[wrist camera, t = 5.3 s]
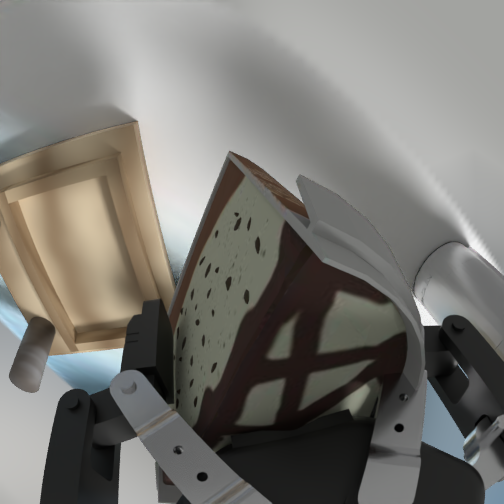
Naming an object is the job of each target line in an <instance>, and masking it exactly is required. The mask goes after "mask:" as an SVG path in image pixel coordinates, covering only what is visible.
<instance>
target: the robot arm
mask: <svg viewBox="0 0 504 504" xmlns="http://www.w3.org/2000/svg"><path fill="white" fill-rule="evenodd" d="M414 291H415V295H416V298H417V299H418V300H419V301H420V303H421V304H422V305H423V306H424V307H425V309H426V310H427V311H428V312H429V313H430V315H431V316H432V317H433V319H434V320H435V321H436V322H437V324H438V325H439V326H423V325H422V324H421V328H422V338H423V341H424V348H425V368H424V373H423V378H422V383H421V385H420V388H419V390H415V389H414V388H413V386H412V385H411V383H410V382H409V380H408V379H407V377H406V376H405V375H404V373H403V372H402V373H392V374H384V377H383V380H382V383H381V385H380V388H379V391H378V393H377V396H376V399H375V402H374V405H373V408H372V410H371V413H370V416H369V417H367V416H352V414H351V412H350V410H349V409H346V410H342V411H339V412H335V413H332V414H328V415H325V416H321V417H319V418H317V419H315V420H314V421H312V422H310V423H308V424H306V425H304V426H302V427H300V428H298V429H296V430H292V431H265V430H260V431H255V432H250V433H244V434H238V435H232V436H231V440H232V443H231V444H229V445H226V446H225V447H223V448H221V449H219V450H218V451H216V452H214V451H213V450H212V449H211V448H210V447H209V446H208V445H207V444H206V443H205V442H204V441H203V440H202V439H201V438H200V437H199V436H198V435H197V434H196V433H195V432H194V430H193V429H192V428H191V427H190V426H189V425H188V424H187V423H186V422H185V421H184V419H183V418H182V417H181V416H180V415H179V414H178V413H177V412H176V411H175V410H172V409H171V408H170V407H169V406H168V405H167V404H174V337H173V331H172V326H171V323H170V320H169V318H168V315H167V312H166V309H165V306H164V303H163V300H162V299H161V298H160V299H154V300H147V301H144V302H143V307H142V314H138V315H133V317H132V318H131V320H130V321H129V323H128V325H127V330H126V337H125V344H124V349H123V356H122V363H121V370H120V373H119V374H118V375H116V376H115V377H114V378H113V380H112V381H111V383H110V387H109V388H107V389H105V390H103V391H100V392H97V393H95V394H92V395H88V393H87V392H86V391H84V390H82V389H73V390H70V391H68V392H66V393H65V394H64V395H63V396H62V397H61V398H60V400H59V402H58V406H57V410H56V414H55V418H54V423H53V427H52V432H51V437H50V442H49V447H48V452H47V458H46V464H45V470H44V476H43V483H42V491H41V499H40V504H118V488H119V466H120V450H121V442H124V441H127V440H130V439H132V438H135V437H139V439H140V440H141V442H142V443H143V444H144V446H145V447H146V449H147V450H148V451H149V452H150V454H151V455H152V456H153V458H154V459H155V460H156V462H157V463H158V464H159V466H160V467H161V468H162V469H163V471H164V472H165V473H166V474H167V476H168V477H169V478H170V479H171V481H172V482H173V483H174V484H175V485H176V487H177V488H178V489H179V490H180V491H181V492H182V494H183V495H182V496H181V497H180V499H179V500H178V502H177V503H176V504H484V500H485V490H486V489H488V488H489V487H491V486H492V485H493V484H495V483H496V482H500V481H503V480H504V275H502V274H501V273H500V272H499V271H498V270H497V269H496V268H495V267H494V266H492V265H491V264H490V263H489V262H488V261H487V260H486V259H484V258H483V257H482V256H481V255H480V254H479V253H477V252H476V251H475V250H474V249H473V248H471V247H469V248H466V247H465V246H464V245H463V244H461V243H459V242H451V243H447V244H445V245H443V246H441V247H440V248H438V249H437V250H436V251H435V252H434V253H432V254H431V255H430V256H429V258H428V259H427V260H426V261H425V263H424V264H423V266H422V267H421V269H420V271H419V273H418V275H417V278H416V281H415V286H414ZM458 364H459V365H460V367H461V368H462V369H463V370H464V372H465V373H466V374H467V376H468V378H467V377H466V376H465V374H464V373H463V372H462V370H461V369H460V368H459V366H458ZM427 379H428V380H429V382H430V383H431V385H432V387H433V388H434V390H435V391H436V393H437V394H438V396H439V397H440V399H441V401H442V402H443V404H444V405H445V407H446V408H447V410H448V412H449V413H450V415H451V416H452V418H453V420H454V421H455V423H456V425H457V426H458V428H459V429H460V431H461V433H462V434H463V436H464V438H465V441H464V446H463V450H464V459H465V460H466V461H467V462H465V461H463V460H461V459H458V458H456V457H454V456H452V455H450V454H448V453H445V452H443V451H441V450H439V449H437V448H435V447H433V446H431V445H428V444H426V443H424V442H422V441H421V439H422V431H423V423H424V414H425V402H426V389H427ZM468 379H469V380H468Z"/></svg>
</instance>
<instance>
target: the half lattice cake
mask: <svg viewBox="0 0 504 504" xmlns="http://www.w3.org/2000/svg"><path fill="white" fill-rule="evenodd" d="M296 183H297V186H298V188H299V191H300V194H301V197H302V199H303V202H304V204H303V203H302V202H301V201H300V200H299V199H297V198H296V197H295V196H294V195H293V194H292V193H290V192H289V191H288V190H287V189H286V188H284V187H283V186H282V185H281V184H280V183H279V182H277V181H276V180H275V179H274V178H273V177H271V176H270V175H269V174H268V173H267V172H265V171H264V170H263V169H262V168H260V167H259V166H257V165H256V164H254V163H253V162H251V161H250V160H248V159H247V158H244V157H242V156H240V155H238V154H235V153H233V152H231V151H229V153H228V155H227V157H226V160H225V162H224V164H223V167H222V169H221V172H220V174H219V177H218V179H217V181H216V184H215V186H214V189H213V191H212V194H211V196H210V199H209V201H208V204H207V206H206V209H205V212H204V214H203V217H202V219H201V222H200V224H199V227H198V230H197V232H196V235H195V238H194V240H193V243H192V245H191V248H190V251H189V254H188V256H187V259H186V262H185V264H184V267H183V270H182V273H181V275H180V278H179V281H178V284H177V287H176V289H175V292H174V295H173V298H172V301H171V304H170V307H169V310H168V312H167V315H168V318H169V320H170V323H171V326H172V331H173V337H174V404H167V405H168V406H169V407H170V408H171V409H172V410H175V411H176V412H177V413H178V414H179V415H180V416H181V417H182V418H183V419H184V421H185V422H186V423H187V424H188V425H189V426H190V427H191V428H192V429H193V430H194V432H195V433H196V434H197V435H198V436H199V437H200V438H201V439H202V440H203V441H204V442H205V443H206V444H207V445H208V446H209V447H210V448H211V449H212V450H213V451H214V452H216V451H218V450H219V449H221V448H223V447H225V446H226V445H229V444H231V443H232V440H231V436H232V435H238V434H244V433H250V432H255V431H260V430H265V431H292V430H296V429H298V428H300V427H302V426H304V425H306V424H308V423H310V422H312V421H314V420H315V419H317V418H319V417H321V416H325V415H328V414H332V413H335V412H339V411H342V410H346V409H349V410H350V412H351V414H352V416H367V417H369V416H370V413H371V410H372V408H373V405H374V402H375V399H376V396H377V393H378V391H379V388H380V385H381V383H382V380H383V377H384V374H392V373H402V372H403V373H404V375H405V376H406V377H407V379H408V380H409V382H410V383H411V385H412V386H413V388H414V389H415V390H419V388H420V385H421V383H422V378H423V373H424V368H425V348H424V341H423V338H422V328H421V318H420V314H419V311H418V309H417V306H416V303H415V301H414V298H413V296H412V293H411V291H410V289H409V286H408V284H407V282H406V280H405V278H404V276H403V274H402V272H401V270H400V268H399V266H398V264H397V262H396V260H395V258H394V256H393V254H392V252H391V250H390V248H389V246H388V245H387V244H386V242H385V241H384V240H383V238H382V237H381V236H380V234H379V233H378V232H377V231H376V229H375V228H374V227H373V225H372V224H371V223H370V222H369V220H368V219H366V218H365V217H364V216H363V215H362V214H360V213H359V212H358V211H357V210H356V209H354V208H353V207H352V206H351V205H350V204H348V203H347V202H346V201H345V200H343V199H342V198H341V197H340V196H339V195H337V194H336V193H334V192H332V191H330V190H328V189H326V188H325V187H323V186H321V185H319V184H317V183H315V182H313V181H311V180H310V179H308V178H306V177H304V176H302V175H299V177H298V178H297V180H296ZM155 468H156V484H157V490H158V502H159V503H168V504H176V503H177V502H178V500H179V499H180V497H181V496H182V495H183V494H182V492H181V491H180V490H179V489H178V488H177V487H176V485H175V484H174V483H173V482H172V481H171V479H170V478H169V477H168V476H167V474H166V473H165V472H164V471H163V469H162V468H161V467H160V466H159V464H158V463H157V462H155Z"/></svg>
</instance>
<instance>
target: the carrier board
mask: <svg viewBox="0 0 504 504" xmlns="http://www.w3.org/2000/svg"><path fill="white" fill-rule="evenodd" d="M0 273H1V275H2V277H3V279H4V281H5V283H6V285H7V287H8V289H9V291H10V293H11V295H12V296H13V298H14V300H15V302H16V304H17V306H18V307H19V309H20V311H21V312H22V314H23V316H24V318H25V319H26V321H27V323H28V327H27V329H26V332H25V334H24V336H23V339H22V341H21V344H20V346H19V349H18V351H17V354H16V357H15V359H14V363H13V365H12V368H11V371H10V373H9V378H10V380H11V382H12V383H13V384H14V385H15V386H16V387H18V388H20V389H21V390H23V391H26V392H30V393H34V392H37V391H38V390H39V387H40V383H41V379H42V375H43V372H44V369H45V365H46V362H47V359H48V355H49V356H52V355H63V354H73V353H83V352H92V351H101V350H110V349H118V348H124V344H125V337H126V330H127V325H128V323H129V321H130V320H131V318H132V317H133V315H138V314H142V307H143V302H144V301H147V300H154V299H160V298H161V299H162V300H163V303H164V306H165V309H166V312H168V310H169V307H170V304H171V301H172V298H173V295H174V292H175V289H176V284H175V281H174V277H173V274H172V270H171V266H170V263H169V259H168V255H167V251H166V248H165V244H164V240H163V236H162V232H161V228H160V224H159V220H158V216H157V211H156V207H155V203H154V199H153V194H152V190H151V185H150V181H149V176H148V171H147V167H146V162H145V157H144V152H143V147H142V142H141V137H140V131H139V126H138V121H135V122H131V123H126V124H122V125H118V126H114V127H110V128H106V129H103V130H99V131H95V132H92V133H88V134H85V135H81V136H78V137H74V138H71V139H68V140H65V141H62V142H58V143H55V144H52V145H49V146H46V147H43V148H40V149H38V150H35V151H32V152H29V153H26V154H24V155H21V156H18V157H16V158H13V159H11V160H8V161H6V162H3V163H1V164H0Z"/></svg>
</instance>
